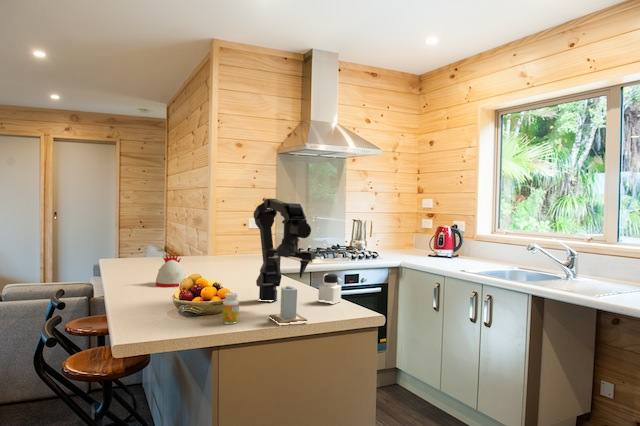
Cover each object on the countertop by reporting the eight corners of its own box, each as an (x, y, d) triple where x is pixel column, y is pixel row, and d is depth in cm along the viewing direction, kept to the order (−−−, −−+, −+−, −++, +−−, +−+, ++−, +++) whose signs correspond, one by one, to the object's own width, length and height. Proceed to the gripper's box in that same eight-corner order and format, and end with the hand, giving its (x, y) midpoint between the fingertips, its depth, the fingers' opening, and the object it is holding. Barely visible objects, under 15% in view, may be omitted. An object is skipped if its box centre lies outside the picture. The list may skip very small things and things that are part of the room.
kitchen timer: (154, 282, 224) (155, 251, 224) (183, 281, 230) (184, 251, 230) (157, 288, 212) (158, 255, 211) (188, 286, 218) (189, 254, 217)
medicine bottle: (340, 302, 197) (342, 274, 197) (332, 305, 191) (334, 276, 191) (326, 300, 201) (327, 272, 200) (317, 302, 194) (319, 274, 194)
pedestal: (279, 326, 155) (280, 321, 155) (269, 319, 164) (269, 314, 164) (306, 323, 160) (307, 319, 160) (295, 316, 168) (295, 312, 168)
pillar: (280, 315, 163) (281, 285, 163) (292, 315, 165) (293, 285, 164) (283, 318, 159) (284, 288, 159) (296, 318, 160) (297, 287, 160)
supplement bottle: (219, 321, 157) (220, 293, 157) (232, 319, 161) (233, 291, 161) (227, 325, 154) (229, 296, 153) (241, 322, 157) (242, 294, 157)
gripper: (259, 235, 172) (257, 277, 173) (306, 238, 167) (305, 282, 167) (271, 234, 183) (270, 273, 183) (316, 237, 177) (315, 277, 178)
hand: (289, 276), depth 178 cm, fingers open, 9 cm apart
